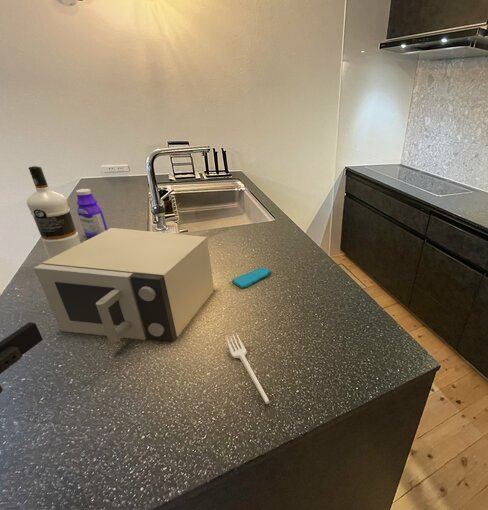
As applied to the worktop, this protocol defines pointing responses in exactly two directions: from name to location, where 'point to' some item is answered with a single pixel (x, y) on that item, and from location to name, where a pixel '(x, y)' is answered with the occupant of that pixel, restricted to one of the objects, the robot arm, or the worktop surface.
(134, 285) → the microwave
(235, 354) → the fork
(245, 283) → the sponge
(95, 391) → the worktop surface
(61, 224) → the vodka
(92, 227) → the bottle
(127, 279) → the microwave door
